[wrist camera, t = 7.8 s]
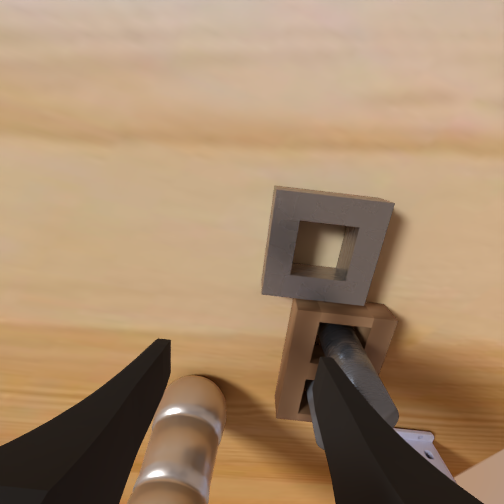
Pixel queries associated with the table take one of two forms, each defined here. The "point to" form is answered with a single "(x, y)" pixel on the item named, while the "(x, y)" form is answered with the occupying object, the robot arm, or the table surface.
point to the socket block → (352, 251)
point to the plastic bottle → (182, 444)
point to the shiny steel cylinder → (357, 367)
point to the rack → (308, 355)
